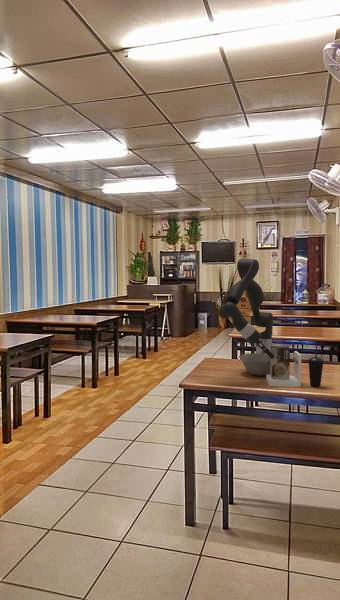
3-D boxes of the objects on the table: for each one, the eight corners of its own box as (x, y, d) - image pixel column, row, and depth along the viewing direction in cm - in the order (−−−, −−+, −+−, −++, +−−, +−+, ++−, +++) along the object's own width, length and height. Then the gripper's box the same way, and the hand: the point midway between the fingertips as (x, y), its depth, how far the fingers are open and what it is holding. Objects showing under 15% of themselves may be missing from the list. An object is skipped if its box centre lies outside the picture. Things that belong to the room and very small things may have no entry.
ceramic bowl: (284, 373, 242) (285, 355, 242) (272, 381, 222) (273, 362, 222) (247, 368, 254) (248, 351, 253) (233, 375, 234) (233, 357, 233)
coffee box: (287, 376, 220) (288, 345, 219) (289, 379, 213) (290, 347, 213) (269, 376, 221) (270, 345, 220) (271, 378, 214) (272, 347, 214)
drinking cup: (319, 384, 217) (320, 345, 216) (325, 388, 209) (326, 348, 208) (305, 384, 216) (306, 345, 215) (310, 388, 209) (311, 347, 208)
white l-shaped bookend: (266, 380, 224) (267, 350, 223) (295, 381, 222) (296, 351, 222) (269, 386, 212) (270, 354, 211) (300, 387, 210) (301, 355, 210)
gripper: (256, 330, 210) (279, 353, 209) (253, 326, 224) (275, 349, 224) (245, 340, 211) (268, 363, 210) (243, 336, 225) (264, 358, 224)
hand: (271, 356), depth 217 cm, fingers open, 8 cm apart
